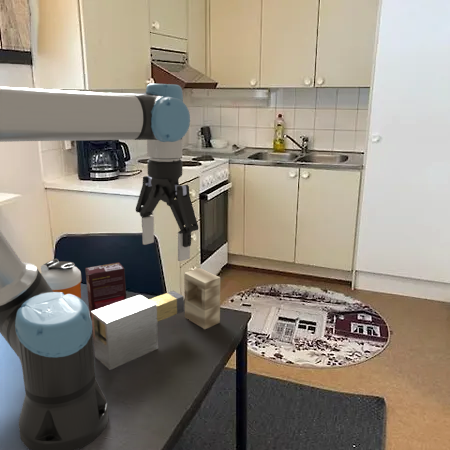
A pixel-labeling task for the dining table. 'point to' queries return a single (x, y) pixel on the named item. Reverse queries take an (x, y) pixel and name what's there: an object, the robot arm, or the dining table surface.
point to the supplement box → (105, 285)
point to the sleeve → (125, 331)
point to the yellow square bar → (162, 307)
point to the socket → (202, 297)
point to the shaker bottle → (62, 277)
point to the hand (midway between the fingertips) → (165, 251)
